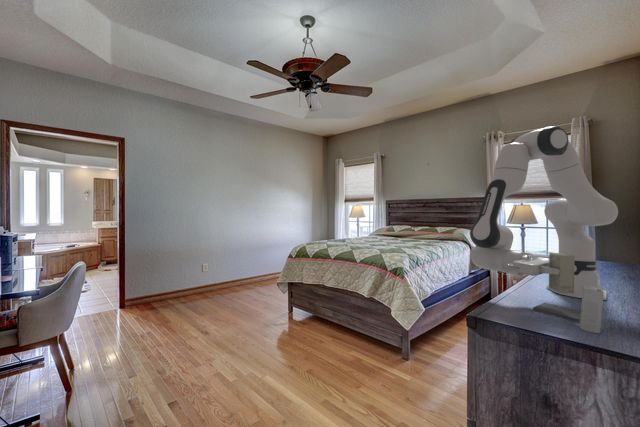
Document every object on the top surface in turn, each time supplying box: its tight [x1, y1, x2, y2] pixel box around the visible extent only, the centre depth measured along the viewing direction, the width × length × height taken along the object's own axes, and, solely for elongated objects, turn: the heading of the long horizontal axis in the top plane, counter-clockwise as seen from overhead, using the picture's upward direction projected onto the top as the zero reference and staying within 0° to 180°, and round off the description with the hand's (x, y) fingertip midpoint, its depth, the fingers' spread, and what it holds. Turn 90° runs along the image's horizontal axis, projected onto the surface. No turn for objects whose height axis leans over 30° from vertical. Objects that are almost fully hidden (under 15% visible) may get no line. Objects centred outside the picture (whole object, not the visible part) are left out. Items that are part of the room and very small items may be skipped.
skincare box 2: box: [579, 285, 604, 334], centre depth 84 cm, size 6×4×12 cm
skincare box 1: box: [548, 252, 575, 294], centre depth 96 cm, size 6×4×12 cm
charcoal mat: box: [532, 302, 581, 324], centre depth 97 cm, size 10×12×1 cm
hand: (564, 270), depth 96 cm, fingers closed on skincare box 1, 7 cm apart
